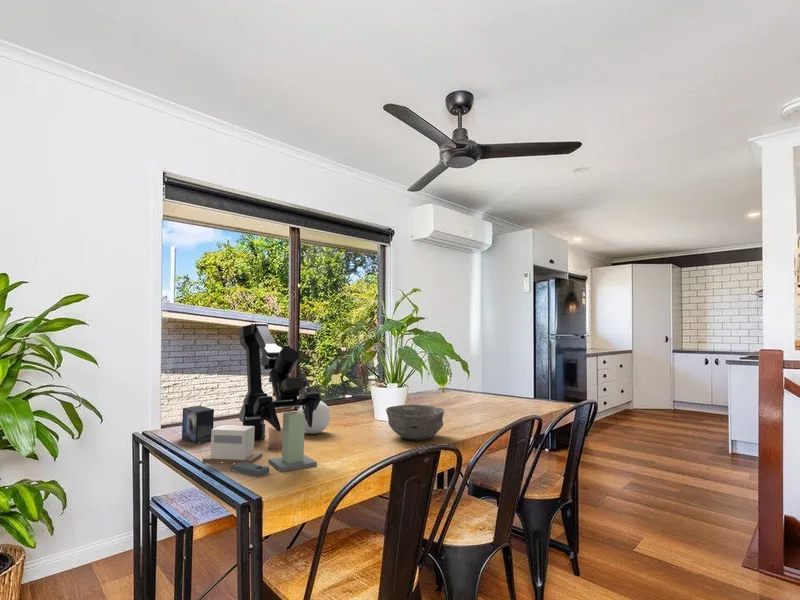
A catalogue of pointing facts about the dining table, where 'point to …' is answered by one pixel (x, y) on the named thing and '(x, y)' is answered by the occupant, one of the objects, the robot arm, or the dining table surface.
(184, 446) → the dining table surface
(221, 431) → the mounted unit
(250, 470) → the bracket
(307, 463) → the slate grey pad
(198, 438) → the small box
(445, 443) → the dining table surface
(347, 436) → the dining table surface
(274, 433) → the peach rounded cylinder
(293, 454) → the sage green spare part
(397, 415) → the bowl
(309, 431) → the decorative ball
